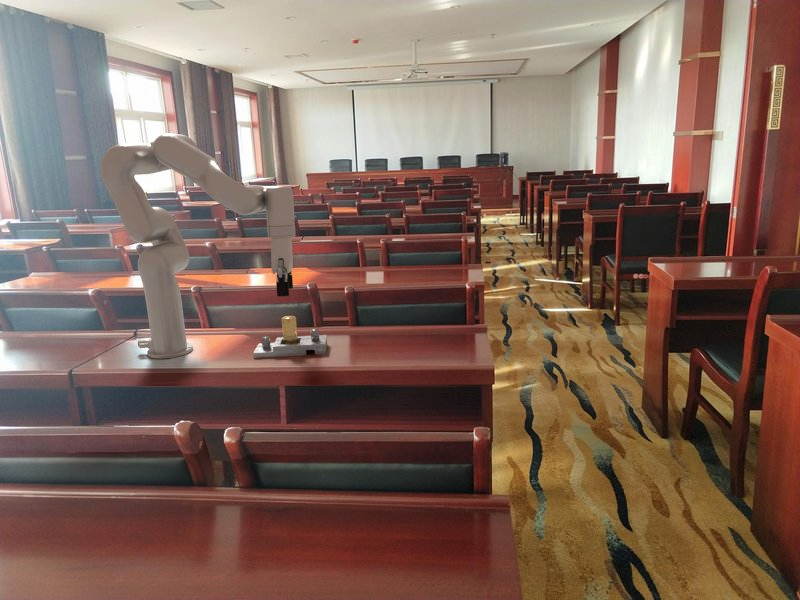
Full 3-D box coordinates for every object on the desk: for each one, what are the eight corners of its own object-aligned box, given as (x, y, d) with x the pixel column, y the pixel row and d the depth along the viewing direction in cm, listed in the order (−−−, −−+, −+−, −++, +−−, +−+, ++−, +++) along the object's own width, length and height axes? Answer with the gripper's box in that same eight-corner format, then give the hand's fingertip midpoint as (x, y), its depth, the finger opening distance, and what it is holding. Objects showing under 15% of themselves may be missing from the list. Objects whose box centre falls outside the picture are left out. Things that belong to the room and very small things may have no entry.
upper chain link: (273, 357, 169) (271, 336, 167) (277, 347, 177) (276, 327, 176) (325, 354, 169) (324, 333, 168) (327, 344, 178) (325, 325, 177)
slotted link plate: (253, 358, 168) (252, 342, 167) (259, 348, 177) (257, 333, 176) (306, 355, 169) (304, 339, 168) (308, 345, 178) (307, 330, 177)
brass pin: (283, 353, 171) (280, 319, 169) (285, 349, 175) (282, 316, 173) (297, 353, 171) (295, 319, 169) (299, 348, 175) (296, 315, 173)
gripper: (272, 228, 174) (275, 286, 177) (262, 235, 157) (267, 299, 161) (298, 227, 174) (301, 285, 178) (291, 235, 157) (295, 298, 161)
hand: (285, 292), depth 169 cm, fingers open, 9 cm apart
